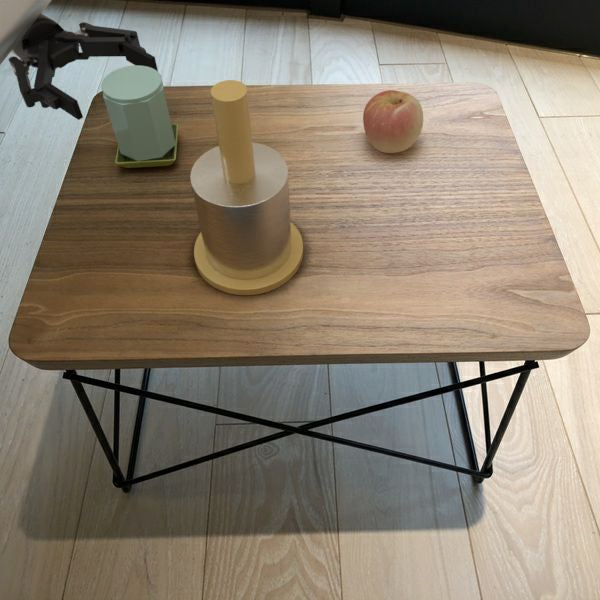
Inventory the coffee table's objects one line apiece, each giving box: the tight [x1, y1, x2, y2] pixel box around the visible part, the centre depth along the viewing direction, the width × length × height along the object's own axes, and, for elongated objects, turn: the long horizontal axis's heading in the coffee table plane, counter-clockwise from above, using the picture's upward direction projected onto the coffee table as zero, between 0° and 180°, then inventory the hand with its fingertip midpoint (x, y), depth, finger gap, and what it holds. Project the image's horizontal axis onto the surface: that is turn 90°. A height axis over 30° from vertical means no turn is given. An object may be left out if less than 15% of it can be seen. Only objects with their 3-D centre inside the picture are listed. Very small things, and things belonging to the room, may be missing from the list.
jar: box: [101, 65, 176, 161], centre depth 86 cm, size 8×8×10 cm
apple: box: [362, 89, 424, 154], centre depth 89 cm, size 9×9×8 cm
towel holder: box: [189, 79, 304, 296], centre depth 70 cm, size 14×14×24 cm
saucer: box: [114, 123, 179, 169], centre depth 91 cm, size 9×9×2 cm
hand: (117, 87), depth 86 cm, fingers open, 13 cm apart
